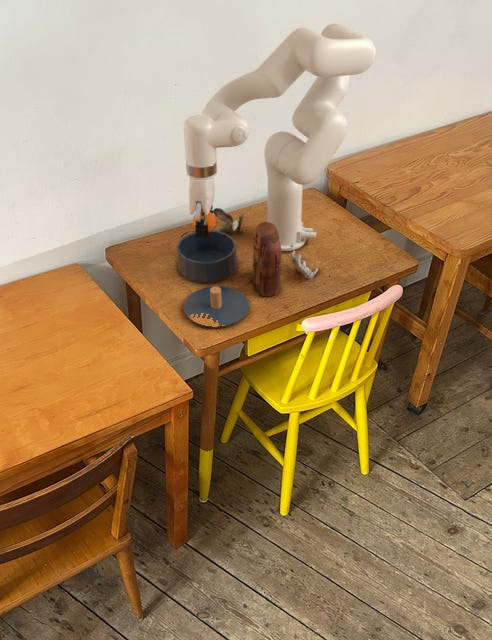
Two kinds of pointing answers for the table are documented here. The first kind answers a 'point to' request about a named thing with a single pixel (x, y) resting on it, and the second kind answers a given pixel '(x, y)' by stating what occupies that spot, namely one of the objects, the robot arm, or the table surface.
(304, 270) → the soldier figure
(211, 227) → the orange ball
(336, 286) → the table surface
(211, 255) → the dark blue round container
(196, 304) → the pan lid
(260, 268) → the wooden figurine
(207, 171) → the robot arm
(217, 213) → the eagle figurine
